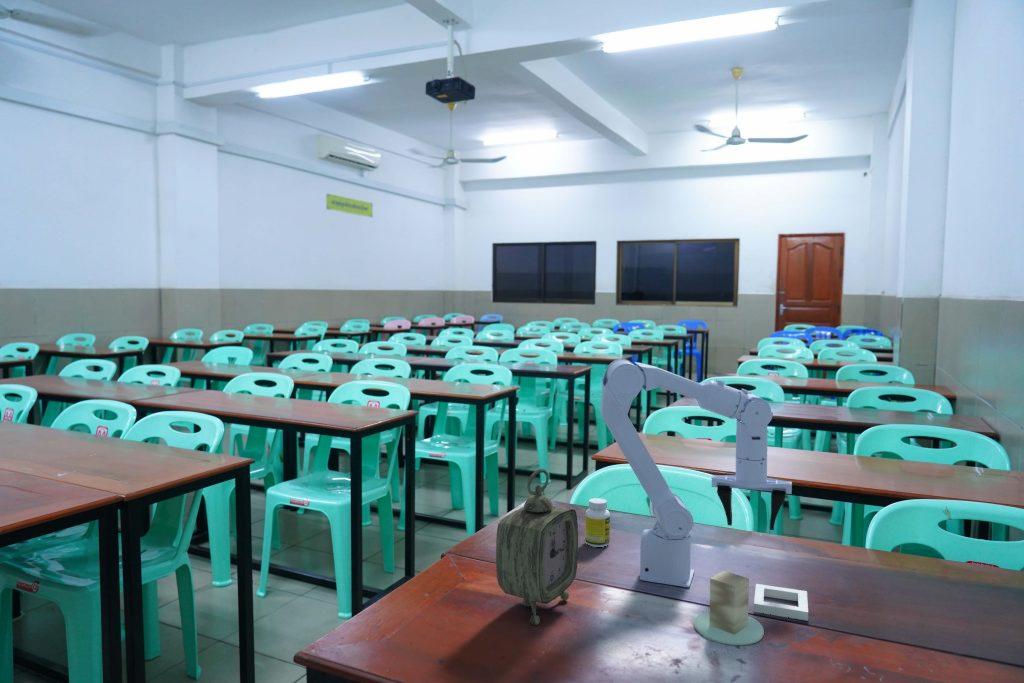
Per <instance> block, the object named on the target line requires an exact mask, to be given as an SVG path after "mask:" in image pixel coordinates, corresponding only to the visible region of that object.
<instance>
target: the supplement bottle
mask: <svg viewBox="0 0 1024 683" xmlns="http://www.w3.org/2000/svg"><path fill="white" fill-rule="evenodd" d="M588 507H589V508H588V509H586V511H585V521H584V522H585V526H584V530H585V531H584V532H585V534H584V535H585V536H584V542H585V544H586V545H587V544H588V545H591V546H594V547H593V548H596V547H602V546H606V547H608V546H609V545H610V541H611V540H610V539H611V538H610V537H611V536H610V534H611V530H610V529H611V513H610V511H609V510H608V500H607V499H605V498H599V497H596V498H590V499H589V500H588ZM608 544H609V545H608ZM588 545H587V546H588ZM607 545H608V546H607ZM591 546H590V547H591ZM602 548H603V547H602Z"/></svg>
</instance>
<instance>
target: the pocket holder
mask: <svg viewBox="0 0 1024 683" xmlns="http://www.w3.org/2000/svg"><path fill="white" fill-rule="evenodd" d="M765 597H766V598H773V599H774V598H775V599H778V600H779V599H781V600H787V601H794V602H797V606H795V605H788V604H782V603H776V602H769V601H765ZM753 612H754V613H758V614H763V613H764V614H765V615H770V614H771V616H777V617H782V618H788V617H789V619H794V620H795V619H796V620H800V621H807V622H808V621H809V602H808V591H807V590H800V589H795V588H788V587H782V586H781V587H780V586H773V585H768V584H761V583H755V591H754V599H753ZM764 614H763V615H764Z"/></svg>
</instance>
